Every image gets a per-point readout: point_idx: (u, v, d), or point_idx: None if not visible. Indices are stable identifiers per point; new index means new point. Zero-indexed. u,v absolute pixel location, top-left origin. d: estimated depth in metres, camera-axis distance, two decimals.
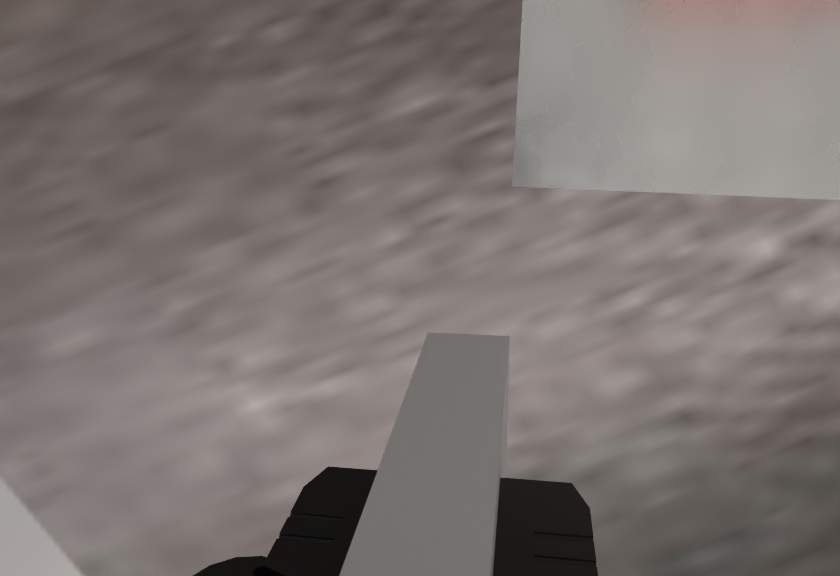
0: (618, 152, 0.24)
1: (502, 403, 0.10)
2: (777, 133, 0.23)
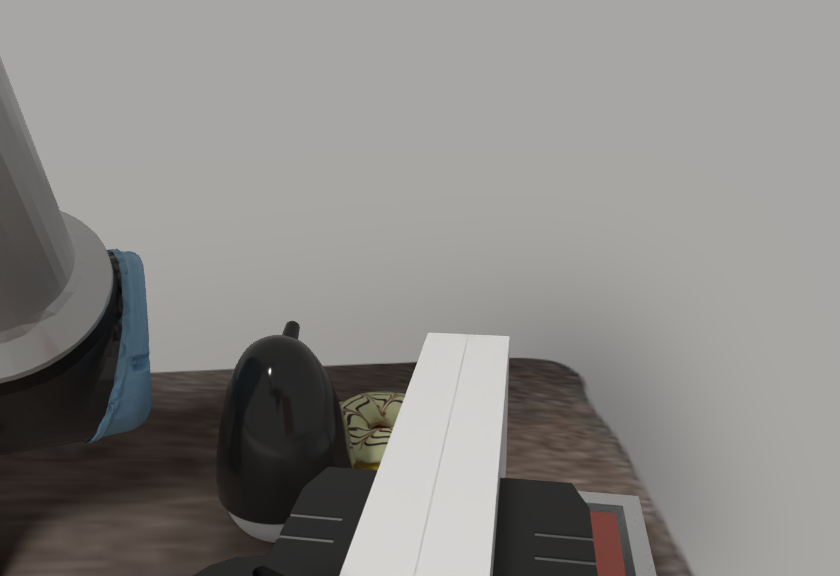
0: None
1: (502, 403, 0.10)
2: None
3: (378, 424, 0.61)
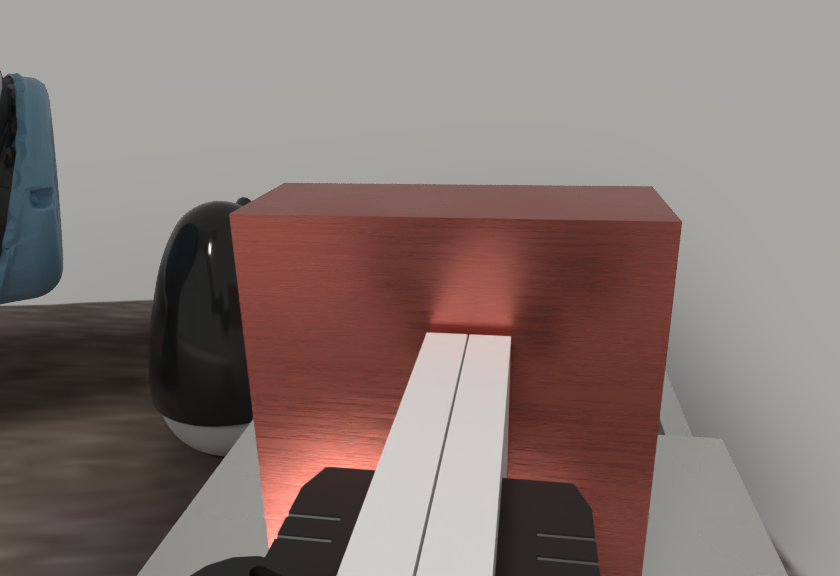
0: None
1: (504, 403, 0.10)
2: None
3: None
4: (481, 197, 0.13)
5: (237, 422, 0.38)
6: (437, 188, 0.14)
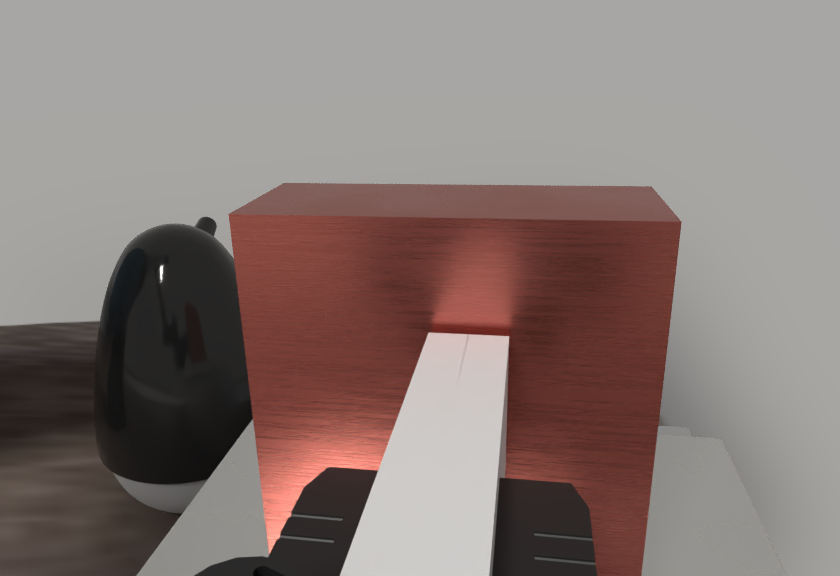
0: None
1: (502, 403, 0.10)
2: None
3: None
4: (481, 197, 0.13)
5: (192, 479, 0.33)
6: (436, 188, 0.14)
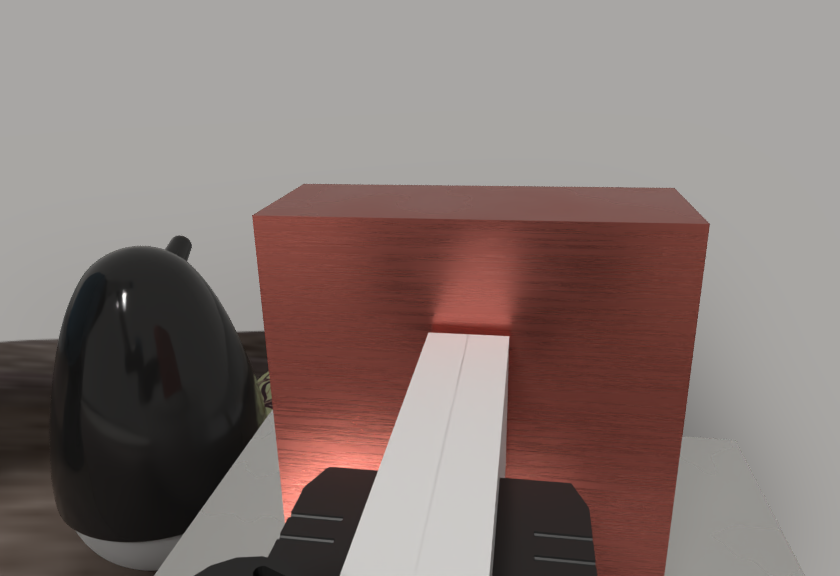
0: None
1: (502, 403, 0.10)
2: None
3: None
4: (504, 198, 0.13)
5: (158, 537, 0.29)
6: (458, 189, 0.14)
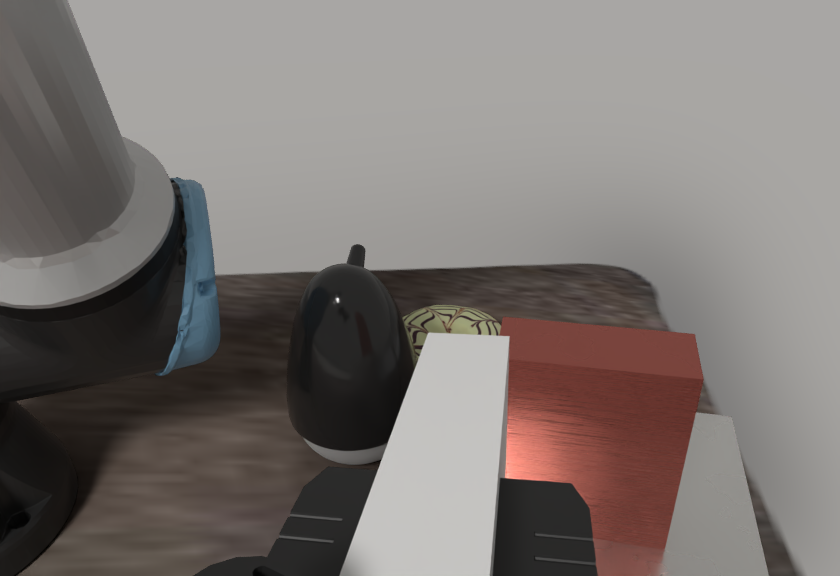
0: None
1: (502, 403, 0.10)
2: None
3: None
4: (609, 343, 0.28)
5: (363, 448, 0.46)
6: (585, 329, 0.29)
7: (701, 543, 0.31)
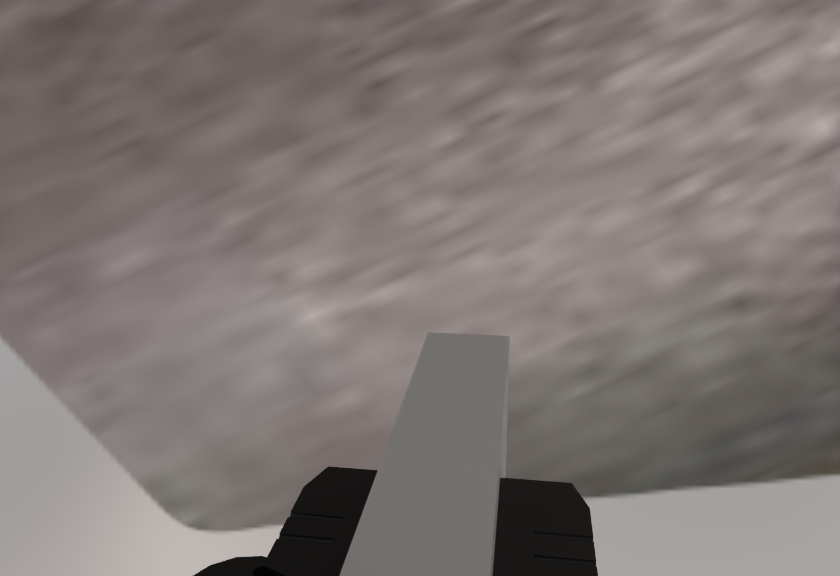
0: None
1: (502, 403, 0.10)
2: None
3: None
4: None
5: None
6: None
7: None
